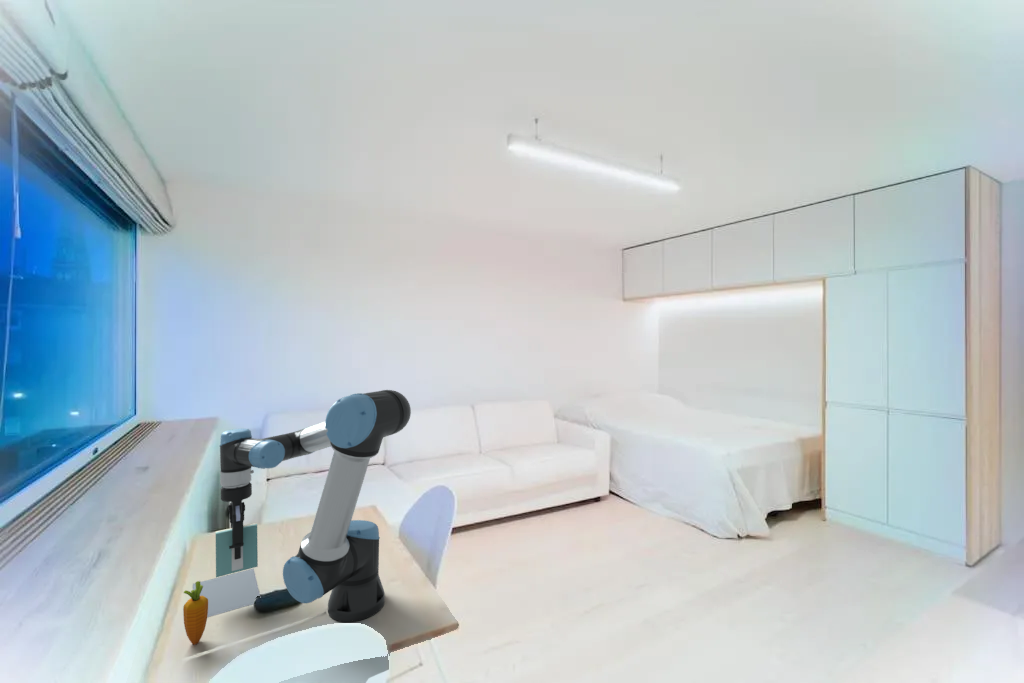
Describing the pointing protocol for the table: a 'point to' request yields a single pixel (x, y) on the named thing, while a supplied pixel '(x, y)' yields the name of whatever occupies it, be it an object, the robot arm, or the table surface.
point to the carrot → (195, 614)
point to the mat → (230, 592)
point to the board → (226, 554)
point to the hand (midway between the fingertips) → (237, 567)
